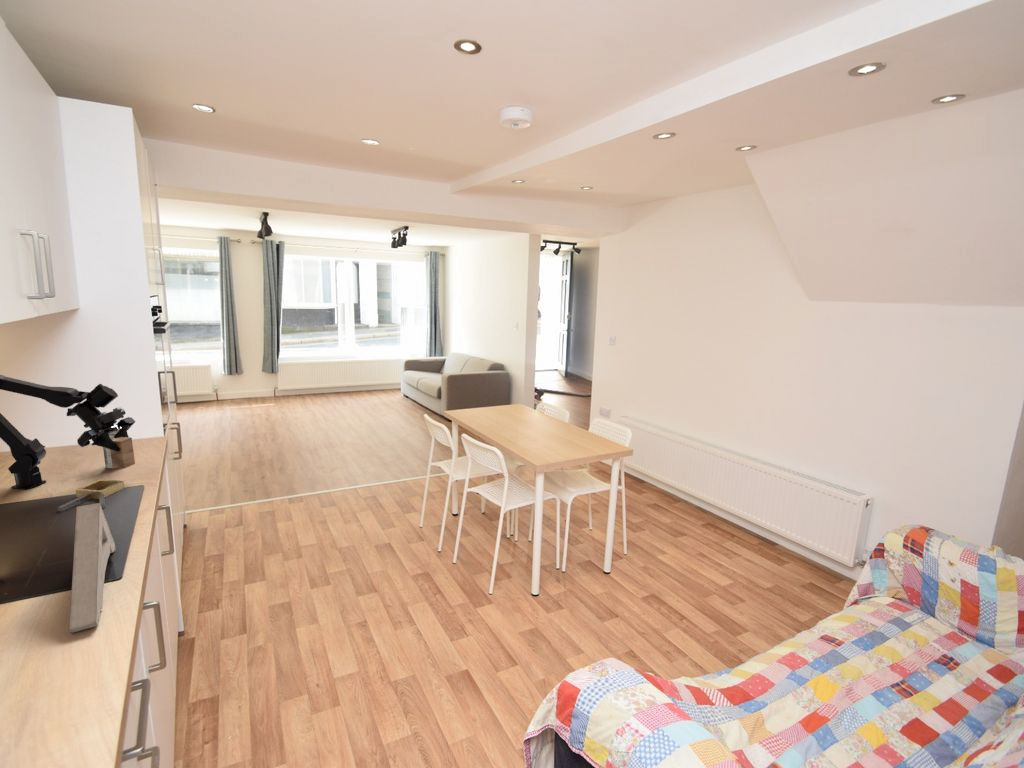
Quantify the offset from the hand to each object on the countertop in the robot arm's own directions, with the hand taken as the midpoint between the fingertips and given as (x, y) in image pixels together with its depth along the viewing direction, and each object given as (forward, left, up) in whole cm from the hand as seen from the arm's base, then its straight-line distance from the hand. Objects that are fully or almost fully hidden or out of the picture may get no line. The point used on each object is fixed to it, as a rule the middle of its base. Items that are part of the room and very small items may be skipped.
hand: (125, 448), depth 177 cm
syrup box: (-15, +12, -13) cm, 23 cm away
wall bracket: (+42, -57, -13) cm, 72 cm away
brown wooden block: (-1, 0, -7) cm, 7 cm away
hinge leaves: (+2, -15, -12) cm, 20 cm away
